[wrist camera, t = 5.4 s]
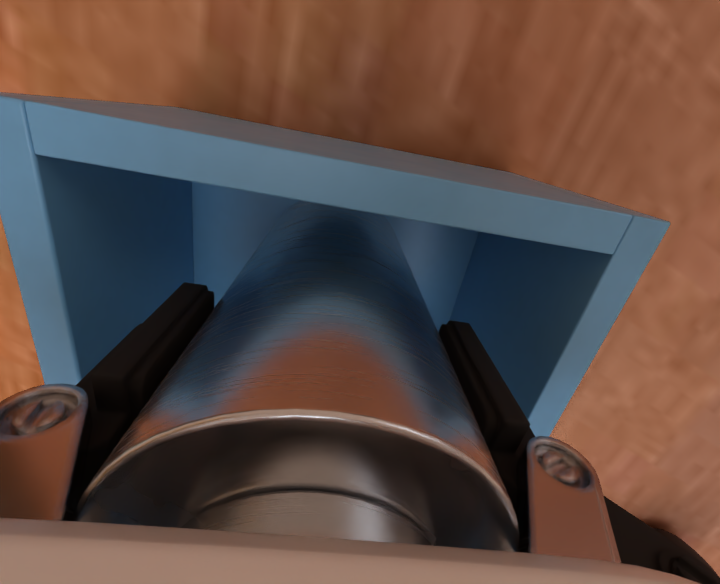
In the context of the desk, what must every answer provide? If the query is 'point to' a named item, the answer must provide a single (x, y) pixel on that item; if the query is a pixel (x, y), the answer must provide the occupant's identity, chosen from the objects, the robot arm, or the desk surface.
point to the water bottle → (313, 407)
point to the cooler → (266, 204)
